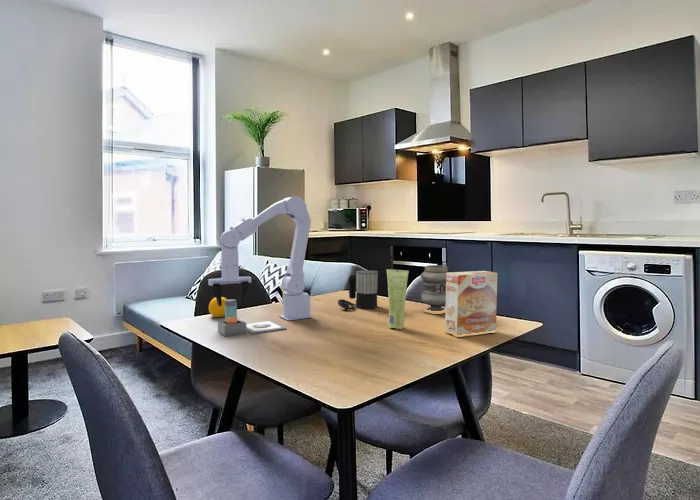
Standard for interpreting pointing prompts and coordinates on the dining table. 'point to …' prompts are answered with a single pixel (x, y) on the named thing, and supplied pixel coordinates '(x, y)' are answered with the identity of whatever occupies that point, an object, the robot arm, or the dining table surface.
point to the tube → (397, 296)
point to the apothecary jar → (434, 286)
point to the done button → (231, 320)
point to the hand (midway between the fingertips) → (230, 304)
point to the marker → (230, 308)
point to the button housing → (232, 328)
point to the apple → (217, 308)
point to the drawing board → (263, 327)
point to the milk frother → (362, 290)
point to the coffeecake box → (471, 302)
